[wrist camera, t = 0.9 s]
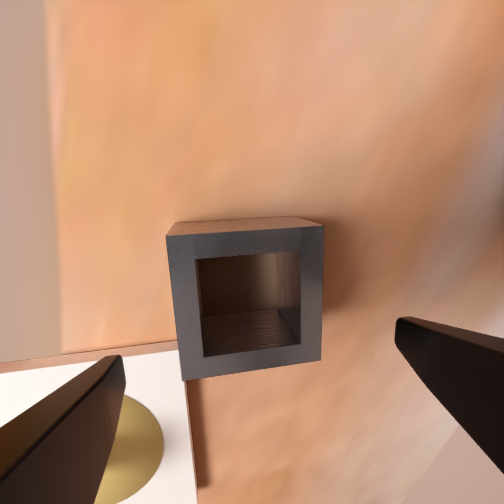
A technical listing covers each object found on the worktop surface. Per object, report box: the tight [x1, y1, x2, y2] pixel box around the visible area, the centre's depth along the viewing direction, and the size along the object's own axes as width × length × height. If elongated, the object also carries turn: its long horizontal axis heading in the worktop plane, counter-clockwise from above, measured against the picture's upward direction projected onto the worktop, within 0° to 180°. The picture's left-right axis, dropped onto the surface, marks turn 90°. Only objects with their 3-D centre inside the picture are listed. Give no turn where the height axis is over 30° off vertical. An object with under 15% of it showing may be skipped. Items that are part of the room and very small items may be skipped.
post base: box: [0, 341, 198, 504], centre depth 14 cm, size 11×11×6 cm
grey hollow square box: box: [166, 216, 324, 381], centre depth 14 cm, size 6×6×4 cm
